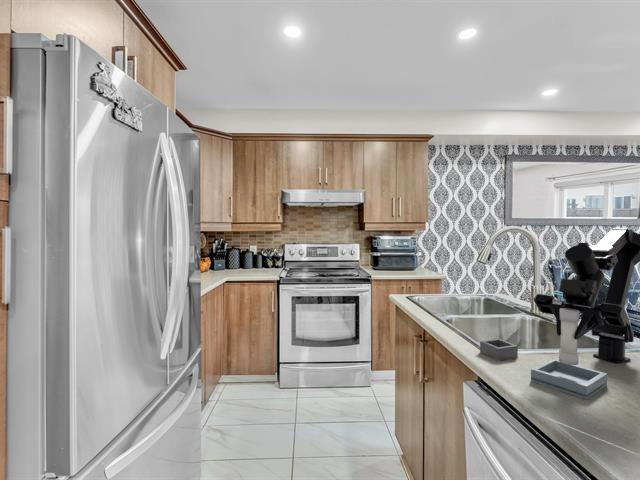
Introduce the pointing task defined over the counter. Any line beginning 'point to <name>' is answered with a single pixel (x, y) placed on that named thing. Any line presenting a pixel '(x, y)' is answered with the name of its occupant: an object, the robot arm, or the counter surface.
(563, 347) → the white rounded column
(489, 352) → the light bulb socket
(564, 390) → the parts tray
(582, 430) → the counter surface
